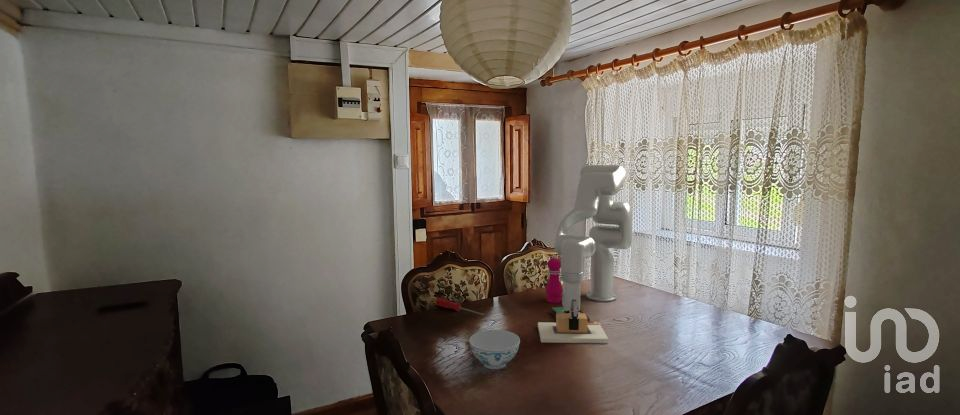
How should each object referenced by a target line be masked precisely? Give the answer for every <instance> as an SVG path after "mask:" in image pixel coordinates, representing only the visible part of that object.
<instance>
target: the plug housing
mask: <svg viewBox="0 0 960 415" xmlns="http://www.w3.org/2000/svg"><path fill="white" fill-rule="evenodd" d="M578 316H579V330H569V318H570V313H556V317H555V323H556V329H557V332H558V333H587V325H599V323H600V322H599V321H598V320H590V321H588V319H587V317H586V316H587V315H586V313H585V312H583V313H578Z"/></svg>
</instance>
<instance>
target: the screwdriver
mask: <svg viewBox="0 0 960 415" xmlns="http://www.w3.org/2000/svg"><path fill="white" fill-rule="evenodd" d="M435 304H436V306H438V307H441V308H444V309H453V310H455V311H456V312H460V311H461V310H464V311H467V312H471V313H474V314H477V315H482V316H484V315H485V314H484V313H481V312H477V311H475V310H471V309H468V308H463V307H462V304H461V303H456V302H453V301H451V300H450V299H449V300H448V299H447V298H446V299H445V298H442V297H438V298H437V299H435Z"/></svg>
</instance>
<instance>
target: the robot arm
mask: <svg viewBox="0 0 960 415" xmlns="http://www.w3.org/2000/svg"><path fill="white" fill-rule="evenodd" d="M579 172H580V173H579V176H580V177H579V180H578V184H577V189H576V195H575V200H574V205H573V207H572V209H571V210H570V211H568V213H566V214H565V215H564V217H562V218H561V220H560V222H559V223H558V225H557V228H556V232H555V237H554V245H553V246H554V247H553V248H554V251H555V253H556V254H558V255H559V256H560V261H561V268H560V282H562V289H563V293H562V295H561V297H562V301H561V304H562V307H564V309H565V313H570V318H569V330H579V316H578V311H579V310H581V283H583V282H584V264H585V263H584V262H585V261H584V260H585V259H588V258H590V285H589V286H590V288H589V289H590V291H587V292H586V297H587V299H589V300H591V301H596V302H603V303H604V302H606V303H607V302H613V301H615V300H617V297H618V296H617V294H616V293H614V270H615V268H614V267H615V265H614V262H615V258H614V255H613V254H612V252H611V250H610V249H616V250H627V249H629V248H630V247H631V246H632V242H633V223H632V222H633V221H632V208H631V206H630V204H629V203H627V202H625V201H614V200H613V196H615V195H617V194H618V193H619V191H620V190H621V188H622V187H623V186H624V184H625V181H626V170H625V168H624V166H622V165H616V164H612V165H611V164H607V165H606V164H590V165H589V164H588V165H583V166H582V167H581V168H580V171H579ZM591 218H592V221H593V222H594V223H596V224H600V225H593V226H592V227H591V228H590V229H589V232H588V233H589V234H588V236H587V235H586V236H585V235H584V236H583V235H576V234H574V235H573V234H567V232H568V231H569V229H570V228H571V227H573V226H574V225H577V223H580V222H583V221H586V220H588V219H591Z"/></svg>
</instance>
